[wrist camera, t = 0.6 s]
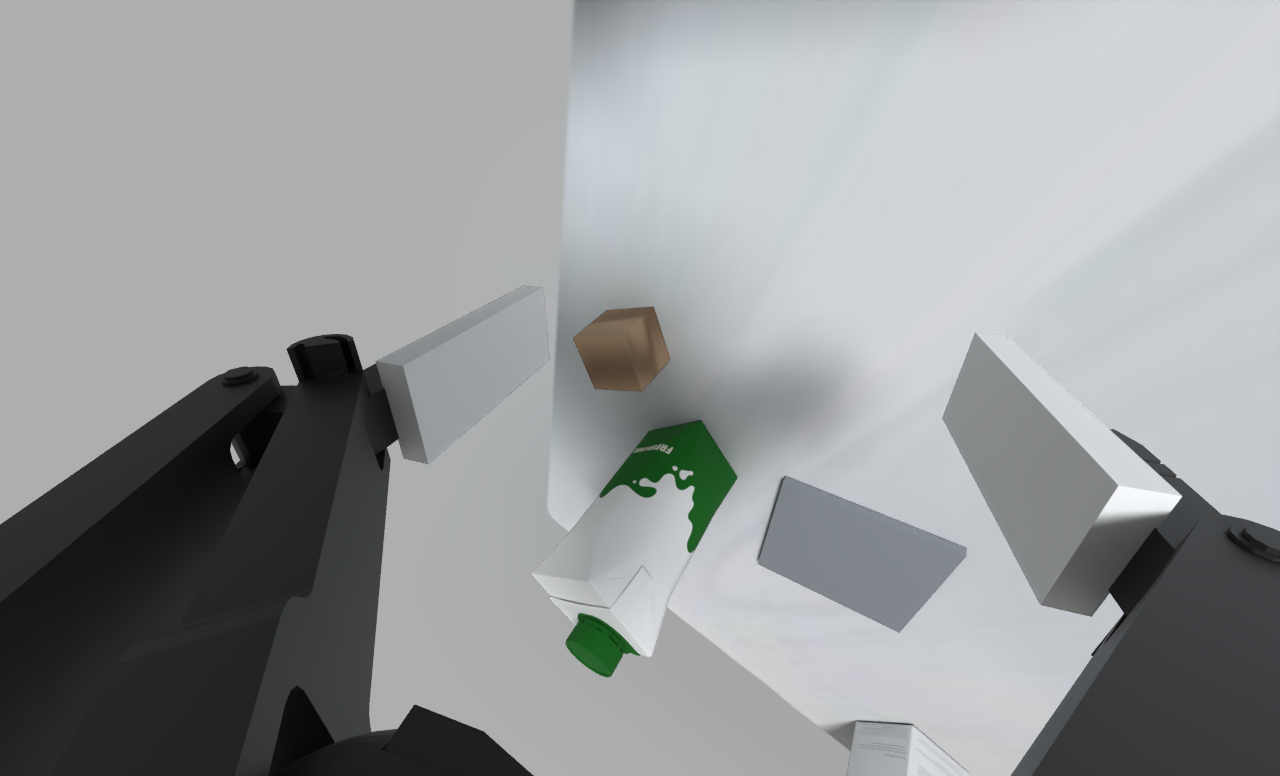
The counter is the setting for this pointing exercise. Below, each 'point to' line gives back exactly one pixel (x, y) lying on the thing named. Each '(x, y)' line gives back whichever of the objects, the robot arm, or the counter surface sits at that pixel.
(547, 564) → the soya milk
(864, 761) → the supplement box
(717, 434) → the counter surface
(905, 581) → the slate board
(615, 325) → the walnut block
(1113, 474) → the robot arm
